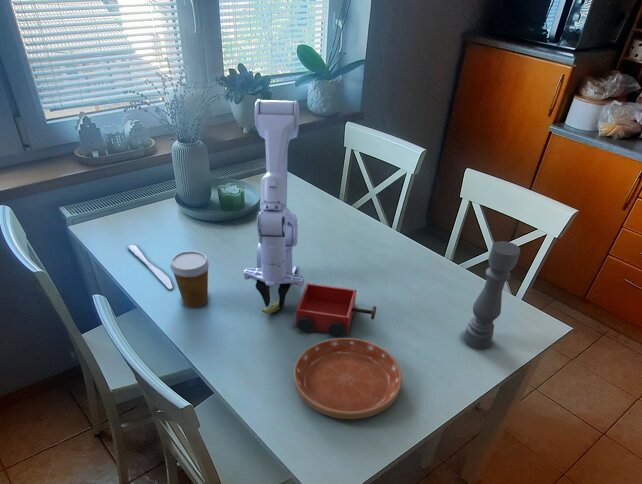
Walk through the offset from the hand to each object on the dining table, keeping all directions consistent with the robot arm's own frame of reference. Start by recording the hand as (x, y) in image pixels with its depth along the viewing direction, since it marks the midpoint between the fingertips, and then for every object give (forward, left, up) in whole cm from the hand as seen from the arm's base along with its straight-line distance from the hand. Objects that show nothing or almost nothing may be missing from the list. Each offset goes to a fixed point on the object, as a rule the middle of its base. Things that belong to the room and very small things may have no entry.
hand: (274, 305), depth 130 cm
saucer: (+22, -22, -2) cm, 31 cm away
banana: (0, 0, -2) cm, 2 cm away
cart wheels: (+16, 0, -1) cm, 16 cm away
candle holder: (+50, 0, -2) cm, 50 cm away
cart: (+13, 0, -1) cm, 13 cm away
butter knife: (-39, +11, -2) cm, 40 cm away
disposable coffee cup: (-21, -1, -2) cm, 21 cm away
